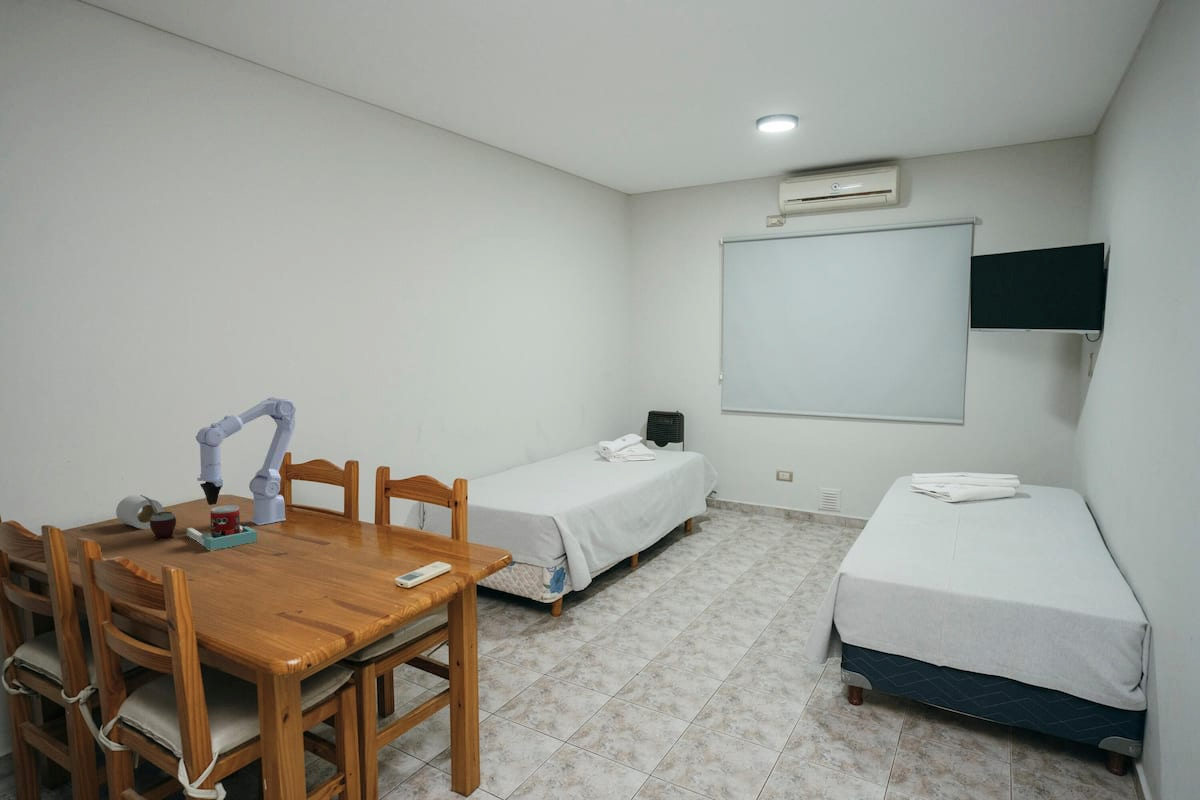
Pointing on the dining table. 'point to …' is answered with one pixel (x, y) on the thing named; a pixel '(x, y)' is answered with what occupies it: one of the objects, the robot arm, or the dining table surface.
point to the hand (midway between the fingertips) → (212, 504)
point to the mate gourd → (162, 523)
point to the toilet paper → (130, 509)
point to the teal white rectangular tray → (224, 538)
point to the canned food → (225, 521)
